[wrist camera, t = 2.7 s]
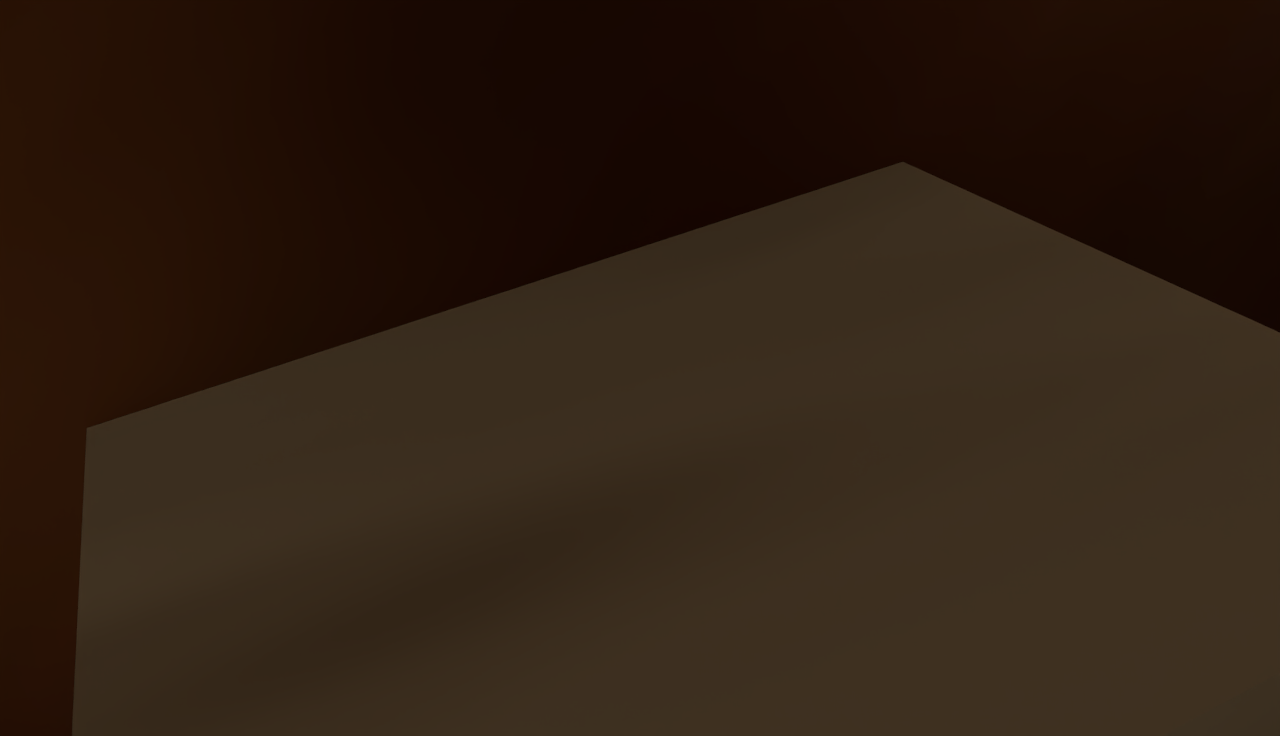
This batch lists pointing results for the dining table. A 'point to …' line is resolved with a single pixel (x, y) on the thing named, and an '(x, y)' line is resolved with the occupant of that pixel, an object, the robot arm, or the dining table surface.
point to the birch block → (717, 502)
